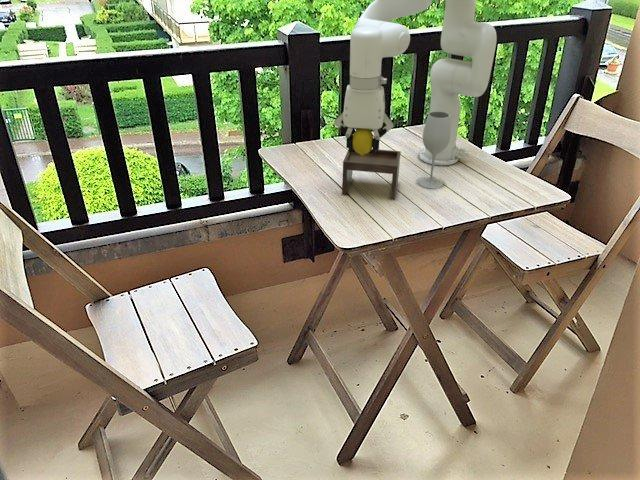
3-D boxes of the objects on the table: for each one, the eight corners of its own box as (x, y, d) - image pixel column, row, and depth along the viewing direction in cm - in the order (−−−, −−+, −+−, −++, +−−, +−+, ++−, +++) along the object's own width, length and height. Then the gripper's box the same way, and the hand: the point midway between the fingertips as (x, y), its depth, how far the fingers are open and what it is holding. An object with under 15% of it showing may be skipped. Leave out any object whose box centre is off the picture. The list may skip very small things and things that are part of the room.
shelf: (397, 183, 157) (400, 151, 152) (394, 199, 148) (397, 166, 143) (348, 178, 160) (349, 146, 155) (342, 194, 151) (343, 161, 145)
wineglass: (444, 180, 159) (454, 112, 148) (441, 190, 153) (451, 120, 142) (420, 176, 162) (427, 109, 150) (415, 186, 155) (423, 117, 144)
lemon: (371, 160, 136) (373, 131, 131) (350, 159, 136) (351, 129, 132) (374, 152, 140) (375, 123, 136) (353, 150, 141) (354, 122, 137)
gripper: (401, 79, 129) (396, 148, 139) (333, 76, 132) (332, 143, 142) (399, 88, 123) (394, 159, 133) (327, 84, 126) (327, 154, 136)
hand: (362, 150), depth 138 cm, fingers closed on lemon, 5 cm apart
